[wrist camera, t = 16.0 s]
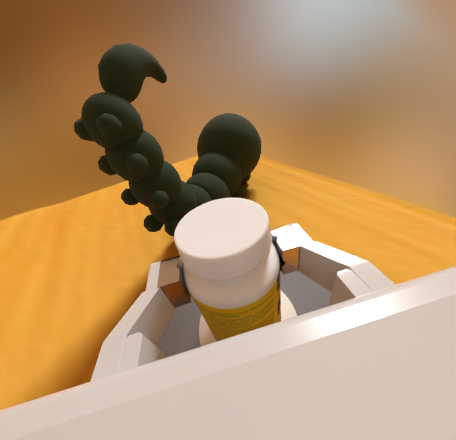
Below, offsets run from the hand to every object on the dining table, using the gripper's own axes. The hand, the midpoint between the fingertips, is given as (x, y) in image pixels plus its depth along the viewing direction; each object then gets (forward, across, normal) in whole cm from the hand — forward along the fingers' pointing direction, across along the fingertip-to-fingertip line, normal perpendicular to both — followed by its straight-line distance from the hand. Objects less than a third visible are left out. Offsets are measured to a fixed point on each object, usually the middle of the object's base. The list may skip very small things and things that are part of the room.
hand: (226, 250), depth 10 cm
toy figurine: (+17, -2, +8) cm, 19 cm away
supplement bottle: (-1, 0, +6) cm, 6 cm away
